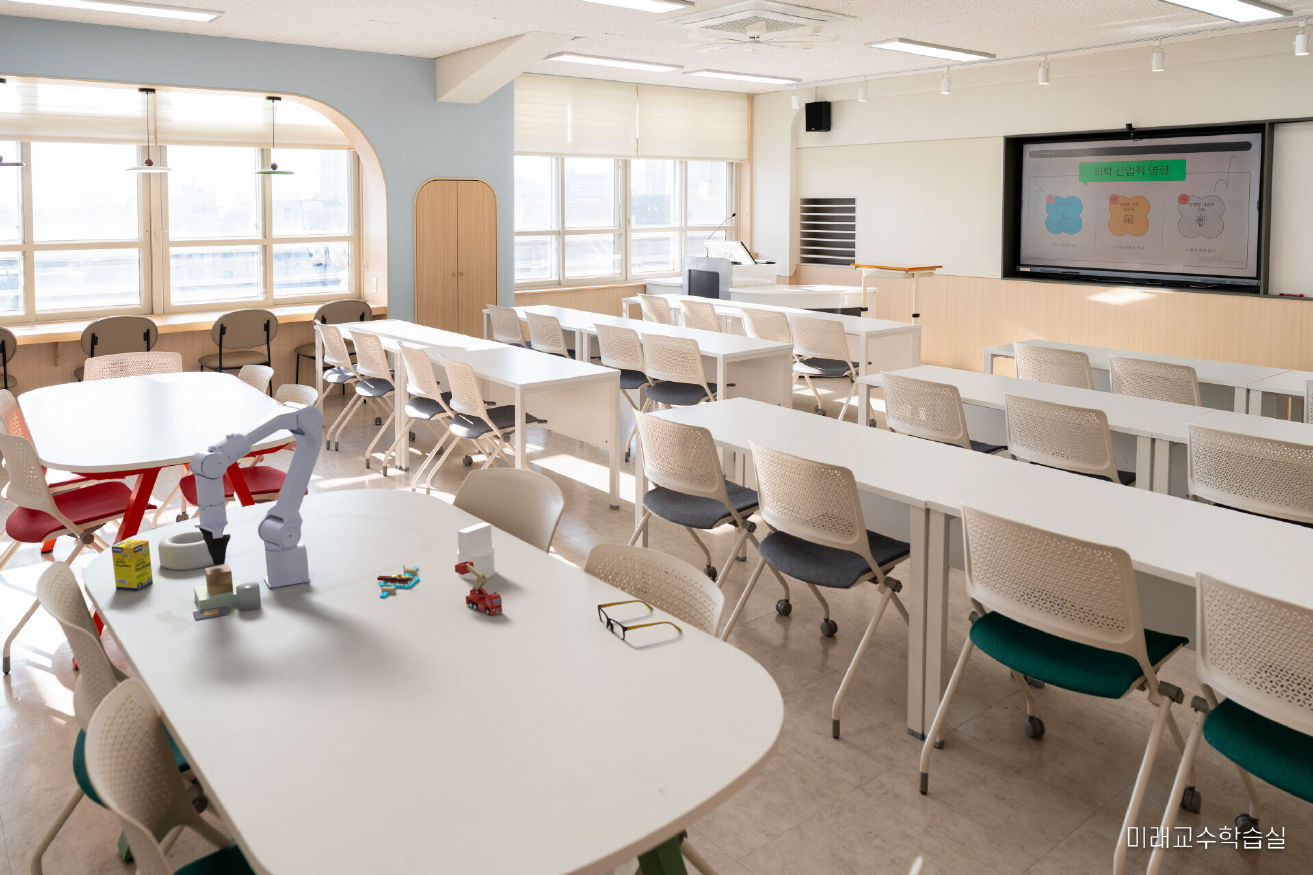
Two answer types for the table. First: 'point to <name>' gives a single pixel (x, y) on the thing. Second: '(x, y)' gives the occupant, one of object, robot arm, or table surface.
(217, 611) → the card
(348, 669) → the table surface
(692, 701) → the table surface
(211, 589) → the walnut cube
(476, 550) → the base with upright slab
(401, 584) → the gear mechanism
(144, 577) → the supplement box
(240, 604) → the grey cylinder
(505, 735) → the table surface
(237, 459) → the robot arm
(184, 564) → the donut shape
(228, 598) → the sage slab
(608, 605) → the eyeglasses
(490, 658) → the table surface
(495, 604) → the toy fire truck
